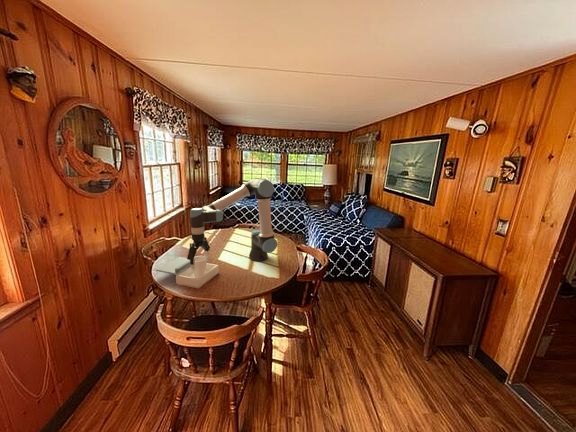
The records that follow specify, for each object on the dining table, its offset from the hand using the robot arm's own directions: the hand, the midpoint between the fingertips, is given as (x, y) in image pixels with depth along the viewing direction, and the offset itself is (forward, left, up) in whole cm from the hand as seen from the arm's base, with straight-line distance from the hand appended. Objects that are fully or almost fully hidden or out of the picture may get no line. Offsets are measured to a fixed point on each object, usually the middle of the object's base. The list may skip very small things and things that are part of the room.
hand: (200, 264), depth 154 cm
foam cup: (0, 0, -9) cm, 9 cm away
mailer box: (+1, 0, -10) cm, 10 cm away
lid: (+16, 0, -4) cm, 17 cm away
